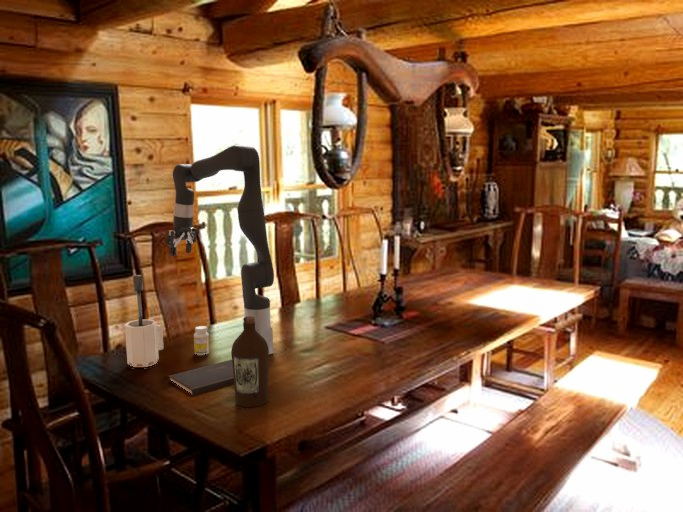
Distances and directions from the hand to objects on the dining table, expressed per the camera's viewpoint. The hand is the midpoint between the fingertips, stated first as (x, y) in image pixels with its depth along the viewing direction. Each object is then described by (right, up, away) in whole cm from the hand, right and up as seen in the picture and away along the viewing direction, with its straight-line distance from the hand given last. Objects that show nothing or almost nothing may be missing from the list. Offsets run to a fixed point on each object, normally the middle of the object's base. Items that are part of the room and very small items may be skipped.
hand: (180, 254), depth 239 cm
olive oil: (+39, -43, -66) cm, 88 cm away
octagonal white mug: (-3, -38, -33) cm, 50 cm away
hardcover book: (+24, -41, -48) cm, 68 cm away
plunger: (-4, -26, -36) cm, 45 cm away
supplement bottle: (+14, -36, -23) cm, 45 cm away
